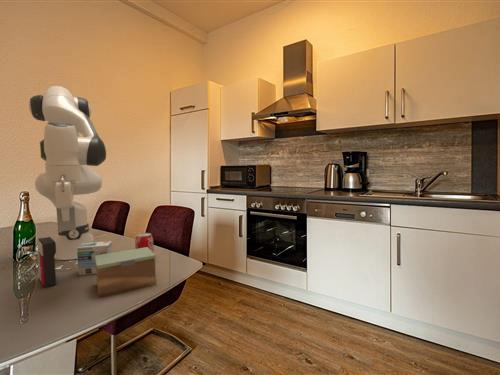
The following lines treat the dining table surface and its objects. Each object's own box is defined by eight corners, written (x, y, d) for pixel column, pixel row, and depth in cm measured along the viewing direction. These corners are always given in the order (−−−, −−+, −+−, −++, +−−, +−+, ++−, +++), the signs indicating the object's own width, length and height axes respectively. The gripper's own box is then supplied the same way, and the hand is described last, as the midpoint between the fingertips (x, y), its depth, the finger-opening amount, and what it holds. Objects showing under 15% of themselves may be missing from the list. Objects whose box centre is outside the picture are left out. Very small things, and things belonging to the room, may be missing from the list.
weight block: (58, 228, 85) (57, 207, 85) (75, 227, 88) (74, 205, 87) (58, 231, 82) (56, 208, 81) (75, 229, 84) (74, 207, 84)
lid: (94, 260, 93) (94, 255, 93) (147, 251, 102) (147, 246, 102) (97, 271, 82) (96, 266, 82) (156, 260, 91) (156, 255, 91)
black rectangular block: (38, 279, 98) (35, 238, 97) (52, 275, 101) (50, 236, 100) (43, 288, 91) (39, 244, 89) (58, 284, 94) (55, 241, 92)
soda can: (147, 265, 110) (146, 236, 109) (132, 264, 112) (131, 236, 111) (157, 260, 117) (156, 232, 116) (142, 259, 119) (141, 232, 118)
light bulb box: (77, 275, 101) (76, 247, 100) (83, 269, 107) (82, 242, 107) (109, 272, 104) (107, 245, 103) (113, 266, 110) (111, 240, 110)
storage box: (96, 283, 94) (95, 258, 93) (148, 272, 103) (147, 249, 102) (99, 297, 83) (97, 268, 83) (155, 283, 93) (154, 258, 92)
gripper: (75, 175, 76) (78, 223, 77) (76, 174, 94) (78, 214, 95) (47, 176, 73) (51, 226, 74) (53, 175, 90) (56, 215, 91)
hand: (66, 219), depth 85 cm, fingers closed on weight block, 4 cm apart
